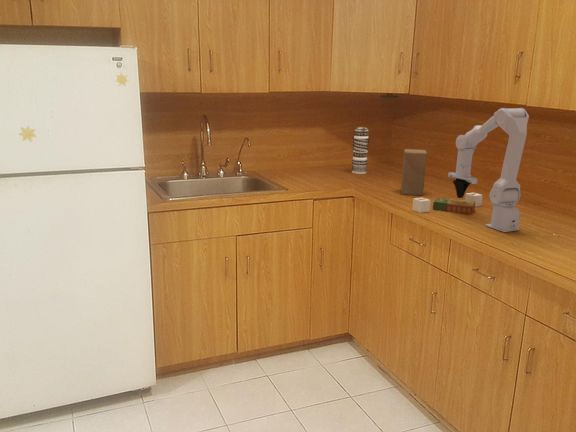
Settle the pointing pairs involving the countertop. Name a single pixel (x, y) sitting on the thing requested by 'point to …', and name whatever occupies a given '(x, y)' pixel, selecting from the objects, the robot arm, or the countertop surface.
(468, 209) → the carton
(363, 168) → the decorative candle
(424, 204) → the number block 1
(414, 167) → the wooden block
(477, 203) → the number block 7
